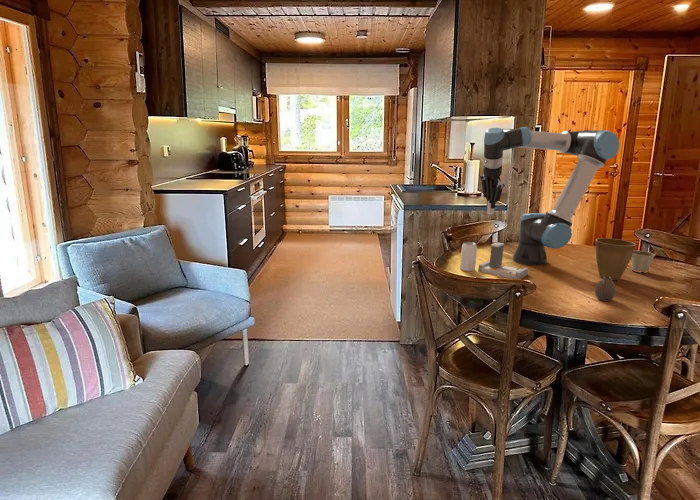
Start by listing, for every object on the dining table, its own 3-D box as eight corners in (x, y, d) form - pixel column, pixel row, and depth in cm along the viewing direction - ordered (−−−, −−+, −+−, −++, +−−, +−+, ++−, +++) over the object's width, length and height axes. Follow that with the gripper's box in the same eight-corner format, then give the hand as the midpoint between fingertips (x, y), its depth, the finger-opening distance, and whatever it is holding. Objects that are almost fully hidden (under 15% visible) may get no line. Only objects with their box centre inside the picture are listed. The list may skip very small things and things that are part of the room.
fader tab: (501, 268, 216) (504, 243, 213) (495, 271, 211) (498, 245, 208) (494, 267, 218) (497, 242, 215) (488, 270, 213) (491, 244, 210)
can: (475, 272, 213) (477, 245, 210) (460, 271, 214) (462, 244, 211) (474, 268, 219) (477, 242, 216) (459, 267, 220) (462, 241, 217)
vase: (589, 296, 185) (593, 274, 183) (607, 296, 186) (610, 274, 184) (600, 302, 178) (603, 279, 176) (618, 302, 179) (622, 279, 177)
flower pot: (650, 270, 222) (653, 252, 220) (653, 276, 214) (656, 256, 212) (626, 267, 226) (630, 249, 224) (628, 273, 217) (631, 254, 215)
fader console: (527, 274, 211) (528, 268, 210) (518, 280, 203) (519, 273, 202) (487, 266, 222) (488, 260, 221) (478, 271, 214) (478, 264, 213)
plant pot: (632, 285, 200) (639, 247, 196) (592, 280, 205) (597, 243, 201) (626, 275, 213) (632, 239, 209) (588, 271, 218) (594, 236, 214)
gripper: (475, 162, 210) (474, 210, 223) (496, 173, 200) (494, 222, 213) (489, 157, 212) (487, 204, 226) (510, 167, 202) (507, 216, 216)
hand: (490, 213), depth 219 cm, fingers closed
